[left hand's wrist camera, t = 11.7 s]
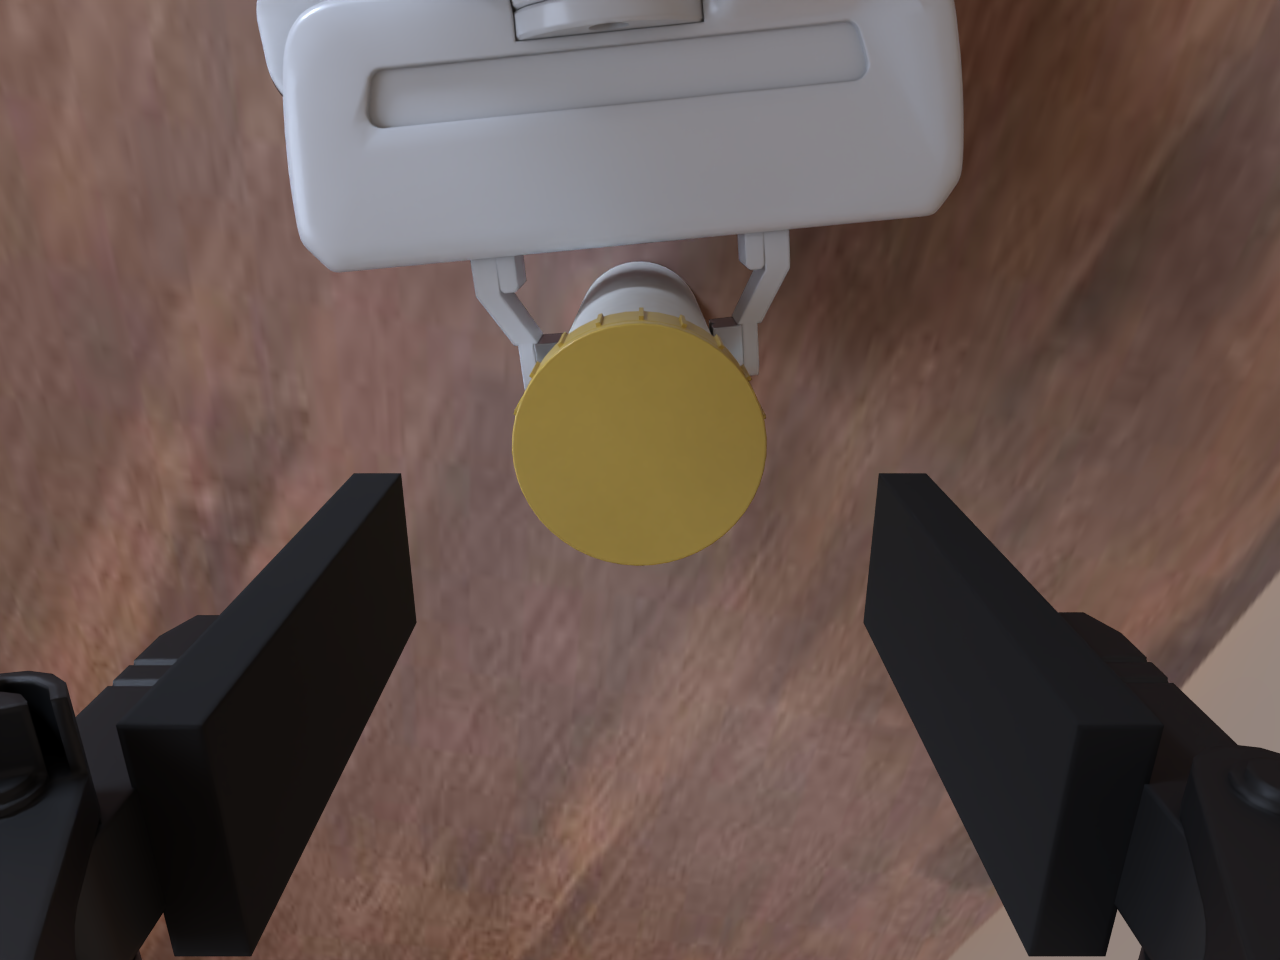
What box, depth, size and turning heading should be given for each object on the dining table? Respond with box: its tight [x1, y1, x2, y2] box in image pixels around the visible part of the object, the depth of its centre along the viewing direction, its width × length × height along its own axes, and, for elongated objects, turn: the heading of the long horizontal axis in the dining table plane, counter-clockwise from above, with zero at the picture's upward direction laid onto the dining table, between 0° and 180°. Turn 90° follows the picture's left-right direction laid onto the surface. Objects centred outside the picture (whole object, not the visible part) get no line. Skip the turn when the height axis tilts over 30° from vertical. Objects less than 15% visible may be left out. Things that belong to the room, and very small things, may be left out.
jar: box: [569, 262, 711, 334], centre depth 27 cm, size 5×5×16 cm
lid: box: [512, 307, 767, 566], centre depth 20 cm, size 6×6×2 cm
